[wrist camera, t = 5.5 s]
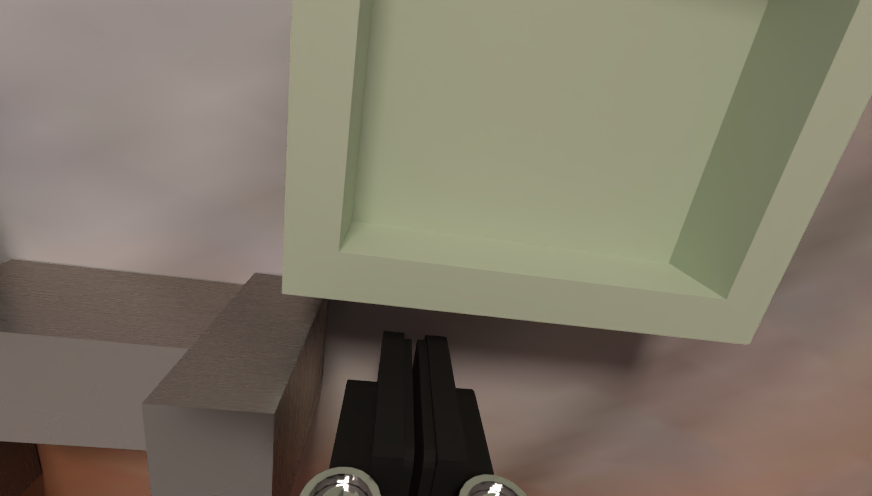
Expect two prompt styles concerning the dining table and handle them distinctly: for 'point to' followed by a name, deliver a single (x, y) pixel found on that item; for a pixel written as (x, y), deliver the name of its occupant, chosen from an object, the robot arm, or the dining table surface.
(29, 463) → the socket
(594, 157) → the tray
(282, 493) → the grey stepped block
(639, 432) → the dining table surface
